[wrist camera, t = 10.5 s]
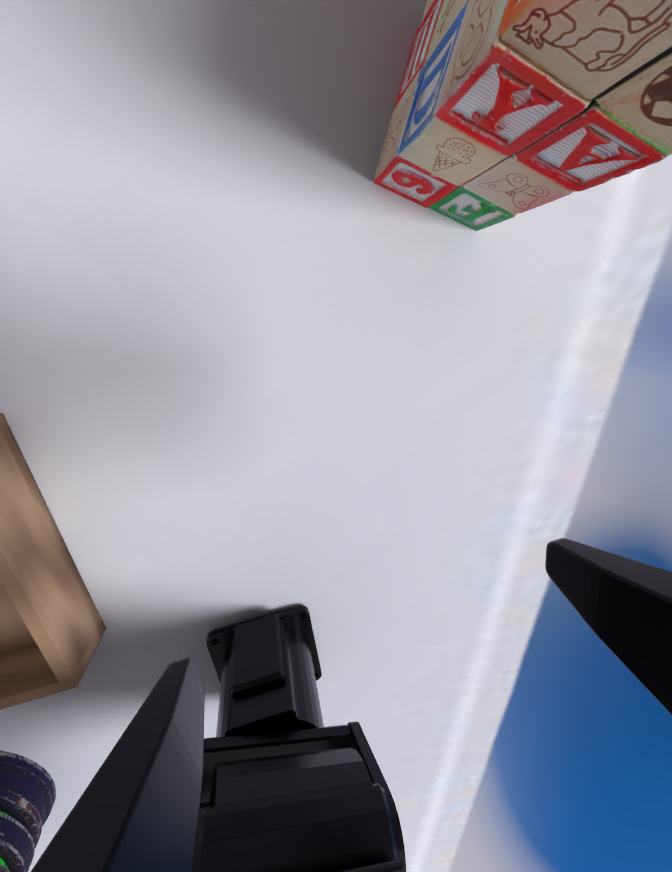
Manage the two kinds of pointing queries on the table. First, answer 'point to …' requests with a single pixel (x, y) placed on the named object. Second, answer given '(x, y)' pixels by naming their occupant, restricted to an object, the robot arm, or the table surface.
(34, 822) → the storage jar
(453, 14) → the stack of blocks
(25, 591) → the walnut crate
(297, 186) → the table surface
